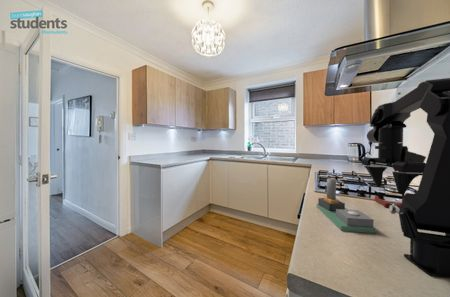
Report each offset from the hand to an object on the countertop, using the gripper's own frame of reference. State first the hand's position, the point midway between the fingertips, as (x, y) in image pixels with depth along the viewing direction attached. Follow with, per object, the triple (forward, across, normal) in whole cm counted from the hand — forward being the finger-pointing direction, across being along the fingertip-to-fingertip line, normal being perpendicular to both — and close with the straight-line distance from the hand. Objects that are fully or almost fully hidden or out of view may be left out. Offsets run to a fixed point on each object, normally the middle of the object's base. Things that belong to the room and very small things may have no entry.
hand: (389, 190), depth 55 cm
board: (+13, +7, +11) cm, 18 cm away
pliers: (+14, +24, -16) cm, 32 cm away
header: (+12, +13, +12) cm, 21 cm away
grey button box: (+11, +1, +10) cm, 15 cm away
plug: (+12, +13, +12) cm, 21 cm away
